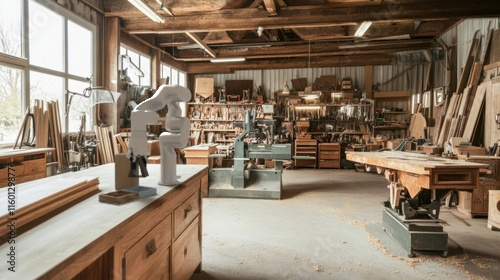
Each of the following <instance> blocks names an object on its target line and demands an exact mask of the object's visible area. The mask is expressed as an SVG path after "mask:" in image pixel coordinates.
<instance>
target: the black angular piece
mask: <svg viewBox="0 0 500 280" xmlns="http://www.w3.org/2000/svg"><path fill="white" fill-rule="evenodd" d="M135 162H136V170H131V169H130V172H129V175H128V177H134V178H136V177H137V178H139V179H140V178H144V179H145V178H147V177H149V176H150V174H149V172H148V167H147V168H146V166H145V163H144V159H143V156H140V155H139V157H136V160H135ZM138 163H139V172H140V174H139V175H135V174H136V171H137V167H138Z"/></svg>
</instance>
